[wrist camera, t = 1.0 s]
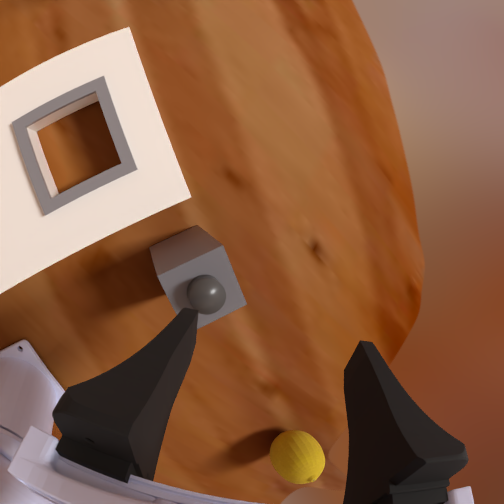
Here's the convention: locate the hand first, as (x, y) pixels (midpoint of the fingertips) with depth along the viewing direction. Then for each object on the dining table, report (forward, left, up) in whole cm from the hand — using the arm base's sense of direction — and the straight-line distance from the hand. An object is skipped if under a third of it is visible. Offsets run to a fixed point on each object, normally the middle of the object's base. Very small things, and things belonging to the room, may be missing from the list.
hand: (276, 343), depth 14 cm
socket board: (-9, +12, -13) cm, 20 cm away
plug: (-2, +1, -13) cm, 13 cm away
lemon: (-1, -23, -13) cm, 26 cm away
